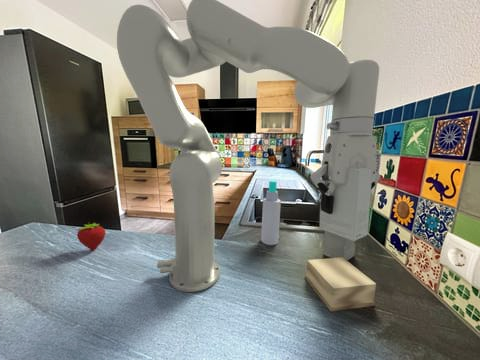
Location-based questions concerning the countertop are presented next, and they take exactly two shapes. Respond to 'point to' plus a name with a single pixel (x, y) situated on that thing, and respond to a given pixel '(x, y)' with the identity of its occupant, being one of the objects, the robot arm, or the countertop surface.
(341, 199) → the skincare box
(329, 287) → the riser block
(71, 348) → the countertop surface
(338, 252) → the skincare box
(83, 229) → the strawberry
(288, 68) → the robot arm
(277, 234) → the spray bottle
